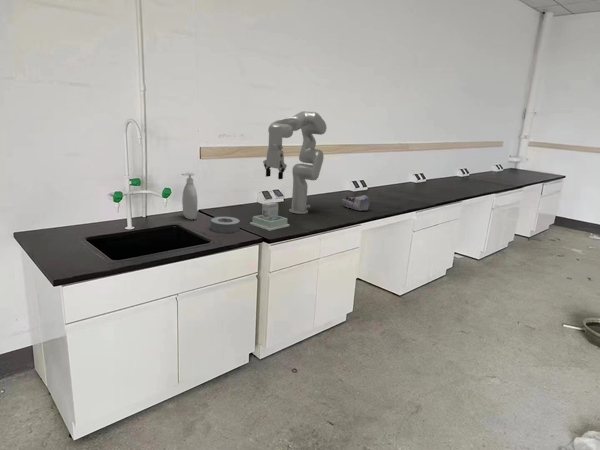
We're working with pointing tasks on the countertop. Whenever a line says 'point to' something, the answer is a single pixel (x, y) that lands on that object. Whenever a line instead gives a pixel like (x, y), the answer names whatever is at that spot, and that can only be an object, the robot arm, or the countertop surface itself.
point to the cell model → (356, 202)
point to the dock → (269, 223)
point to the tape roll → (225, 224)
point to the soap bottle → (189, 198)
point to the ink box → (270, 211)
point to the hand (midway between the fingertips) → (274, 177)
